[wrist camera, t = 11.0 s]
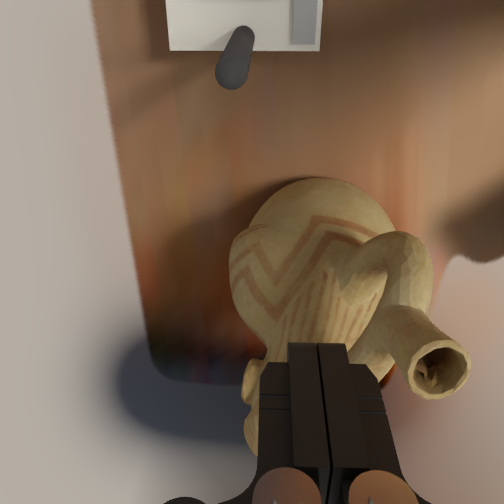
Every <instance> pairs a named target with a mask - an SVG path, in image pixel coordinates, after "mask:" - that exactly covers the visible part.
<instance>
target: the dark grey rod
mask: <svg viewBox="0 0 504 504" xmlns="http://www.w3.org/2000/svg"><path fill="white" fill-rule="evenodd" d="M254 41H255V35H254V32H253V30H252V29H251V28H250V27H248V26H245V25H242V26H239V27H237V28H236V29H235V30H234V32H233V34H232V36H231V38H230V40H229V41H228V43H227V45H226V47H225V49H224V51H223V53H222V55H221V57H220V59H219V61H218V63H217V65H216V68H215V76H216V79H217V81H218V83H219V84H220V85H221V86H222V87H224V88H225V89H229V90H235V89H238V88H240V87H241V86H242V85H243V84H244V83H245V81H246V79H247V76H248V71H249V66H250V61H251V56H252V51H253V46H254Z"/></svg>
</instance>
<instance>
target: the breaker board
mask: <svg viewBox="0 0 504 504" xmlns="http://www.w3.org/2000/svg"><path fill="white" fill-rule="evenodd" d="M322 6H323V0H166V11H167V23H168V34H169V46H170V51H224V49H225V47H226V45H227V43H228V41H229V40H230V38H231V36H232V34H233V32H234V30H235V29H236V28H237V27H239V26H242V25H245V26H248V27H250V28H251V29H252V30H253V32H254V35H255V41H254V46H253V51H319V49H320V35H321V20H322Z"/></svg>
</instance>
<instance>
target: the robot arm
mask: <svg viewBox="0 0 504 504" xmlns="http://www.w3.org/2000/svg"><path fill="white" fill-rule="evenodd" d="M164 504H205V503H203V502H202V501H200V500H198V499H195V498H192V497H179V498H175V499H172V500H169V501H167V502H166V503H164ZM219 504H431V503H429V502H427V501H425V500H424V499H423V498H421V497H420V496H419V495H418V494H416V493H415V492H414V491H413V490H412V488H411V487H410V486H409V485H408V484H407V482H406V480H405V479H404V477H403V475H402V472H401V469H400V465H399V461H398V458H397V454H396V449H395V446H394V441H393V438H392V434H391V430H390V426H389V422H388V418H387V415H386V410H385V406H384V402H383V400H382V394H381V390H380V387H379V383H378V379H377V378H376V377H375V375H374V374H373V373H372V371H371V370H370V369H369V368H368V366H367V365H366V364H349V359H348V353H347V348H346V345H345V343H317V344H315V343H304V342H288V345H287V362H268V363H267V365H266V366H265V368H264V370H263V372H262V374H261V375H260V385H259V422H258V460H257V471H256V475H255V477H254V479H253V481H252V483H251V484H250V486H249V487H248V488H247V489H246V490H245V491H244V492H243V493H242V494H240V495H239V496H237V497H235V498H233V499H231V500H228V501H225V502H222V503H219Z"/></svg>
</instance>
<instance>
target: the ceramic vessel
mask: <svg viewBox="0 0 504 504" xmlns="http://www.w3.org/2000/svg"><path fill="white" fill-rule="evenodd" d="M229 279H230V287H231V293H232V298H233V302H234V305H235V307H236V309H237V312H238V314H239V315H240V317H241V318H242V320H243V321H244V323H245V324H246V325H247V326H248V327H249V328H250V330H251V331H252V332H253V333H254V334H255V335H256V336H257V337H258V338H260V340H261V341H262V342H263V343H264V344H265V346H266V347H267V349H268V351H267V355H266V357H265V359H264V360H263V361H262V360H259V359H251V360H250V361H249V362H248V365H247V367H246V369H245V373H244V378H243V382H242V391H241V396H242V399H243V401H244V402H245V403H247V404H249V405H251V406H252V410H251V412H250V413H249V415H248V416H247V418H246V419H245V423H244V433H245V438H246V441H247V443H248V445H249V447H250V449H251V450H252V452H253V453H254V454H255V455H256V456H257V457H258V422H259V385H260V375H261V374H262V372H263V370H264V368H265V366H266V365H267V363H268V362H287V345H288V342H304V343H315V344H317V343H345V345H346V348H347V353H348V359H349V364H366V365H367V366H368V368H369V369H370V370H371V371H372V373H373V374H374V375H375V377H376V378H377V379H378V382H379V381H380V380H381V379H382V378H383V377H384V376H385V374H386V373H387V372H388V371H389V370H390V369H391V367H392V366H393V364H394V363H395V362H396V364H397V366H398V367H399V369H400V370H401V372H402V374H403V376H404V379H405V381H406V382H407V384H408V385H409V387H410V388H411V390H412V391H413V392H414V393H416V394H417V395H418V396H420V397H422V398H424V399H429V400H434V399H441V398H444V397H447V396H449V395H451V394H453V393H454V392H455V391H457V390H458V389H460V388H461V387H462V386H463V384H464V383H465V382H466V381H467V379H468V376H469V372H470V368H471V359H470V357H469V354H468V352H467V351H466V350H465V349H464V348H463V347H462V346H461V345H460V344H459V343H457V342H456V341H455V340H453V339H452V338H450V337H449V336H447V335H446V334H444V333H443V332H442V331H440V330H439V329H438V328H437V327H436V326H435V325H434V324H433V323H432V322H431V321H430V320H429V318H428V317H427V316H426V312H427V309H428V306H429V303H430V300H431V296H432V290H433V266H432V262H431V259H430V256H429V253H428V250H427V248H426V246H425V245H424V244H423V243H422V242H421V240H420V239H419V238H417V237H415V236H413V235H411V234H409V233H406V232H400V231H395V229H394V226H393V224H392V223H391V221H390V219H389V217H388V216H387V214H386V213H385V211H384V210H383V209H382V208H381V206H380V205H379V204H378V203H377V202H376V200H374V199H373V198H372V197H371V196H370V195H368V194H367V193H366V192H364V191H363V190H361V189H360V188H358V187H356V186H354V185H352V184H350V183H347V182H344V181H341V180H337V179H329V178H306V179H303V180H299V181H296V182H294V183H291V184H289V185H287V186H285V187H283V188H281V189H280V190H278V191H277V192H276V193H275V194H273V195H272V196H271V197H270V198H269V199H268V200H267V201H266V202H265V203H264V204H263V205H262V206H261V208H260V209H259V210H258V211H257V213H256V214H255V216H254V217H253V219H252V221H251V222H250V224H249V226H248V228H246V229H244V230H243V231H241V232H240V233H239V234H238V235H237V236H236V237H235V238H234V240H233V243H232V245H231V249H230V254H229Z"/></svg>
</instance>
